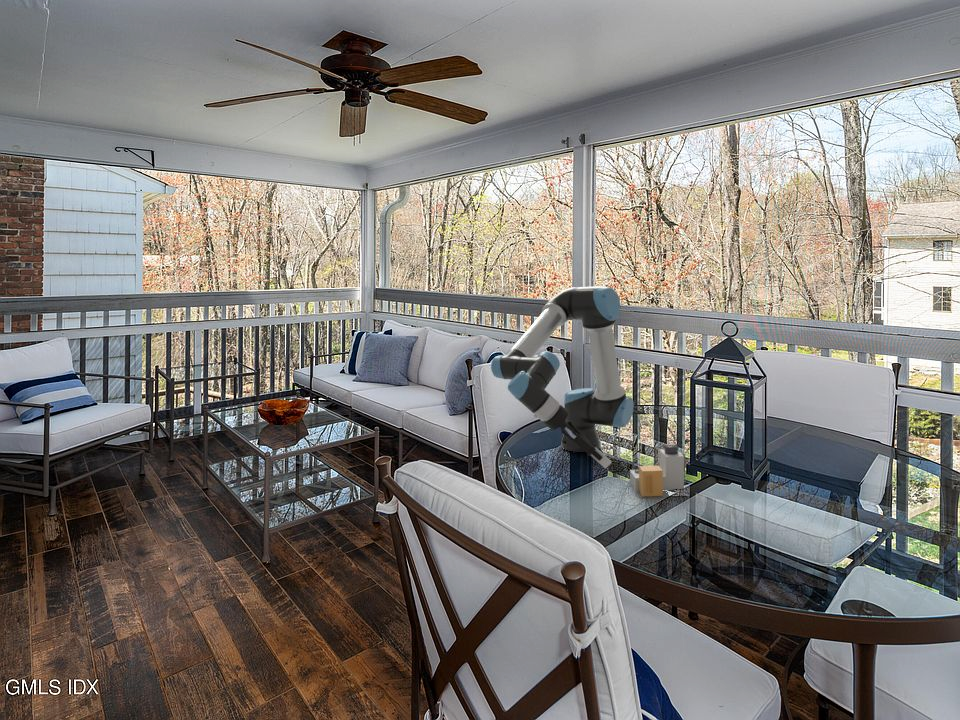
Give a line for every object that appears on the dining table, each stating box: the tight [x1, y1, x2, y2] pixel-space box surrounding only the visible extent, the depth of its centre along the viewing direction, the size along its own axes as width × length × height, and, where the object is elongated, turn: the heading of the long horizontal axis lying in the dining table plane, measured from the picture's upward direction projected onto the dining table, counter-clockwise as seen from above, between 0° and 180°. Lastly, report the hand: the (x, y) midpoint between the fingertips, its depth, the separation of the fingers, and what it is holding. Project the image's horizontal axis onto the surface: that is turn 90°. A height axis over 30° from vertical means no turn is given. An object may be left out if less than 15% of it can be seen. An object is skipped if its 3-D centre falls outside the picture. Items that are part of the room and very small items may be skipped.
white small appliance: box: [629, 444, 685, 499], centre depth 178 cm, size 15×12×13 cm
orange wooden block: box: [638, 465, 663, 497], centre depth 174 cm, size 6×5×8 cm
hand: (608, 464), depth 173 cm, fingers closed
